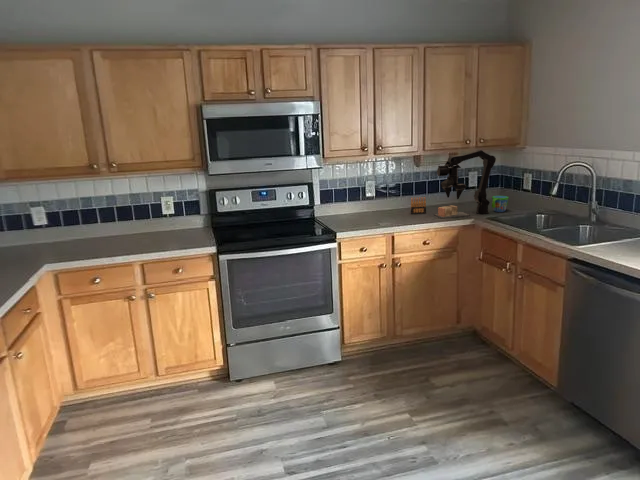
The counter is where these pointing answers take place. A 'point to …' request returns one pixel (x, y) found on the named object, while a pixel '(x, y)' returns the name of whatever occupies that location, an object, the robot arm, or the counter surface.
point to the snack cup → (499, 203)
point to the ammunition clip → (418, 206)
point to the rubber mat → (459, 214)
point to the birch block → (447, 211)
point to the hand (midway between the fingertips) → (452, 198)
